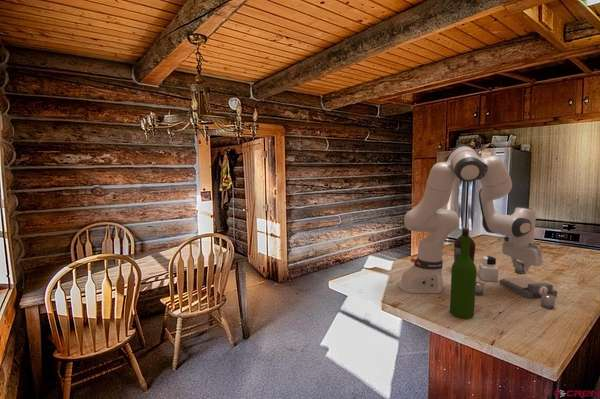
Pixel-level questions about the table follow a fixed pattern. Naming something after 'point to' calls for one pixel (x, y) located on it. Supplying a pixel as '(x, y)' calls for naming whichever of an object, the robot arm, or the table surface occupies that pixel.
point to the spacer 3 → (548, 301)
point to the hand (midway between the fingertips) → (520, 268)
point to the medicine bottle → (488, 269)
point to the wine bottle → (463, 283)
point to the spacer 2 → (519, 267)
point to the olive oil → (458, 245)
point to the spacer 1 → (479, 288)
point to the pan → (520, 282)
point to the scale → (531, 289)
